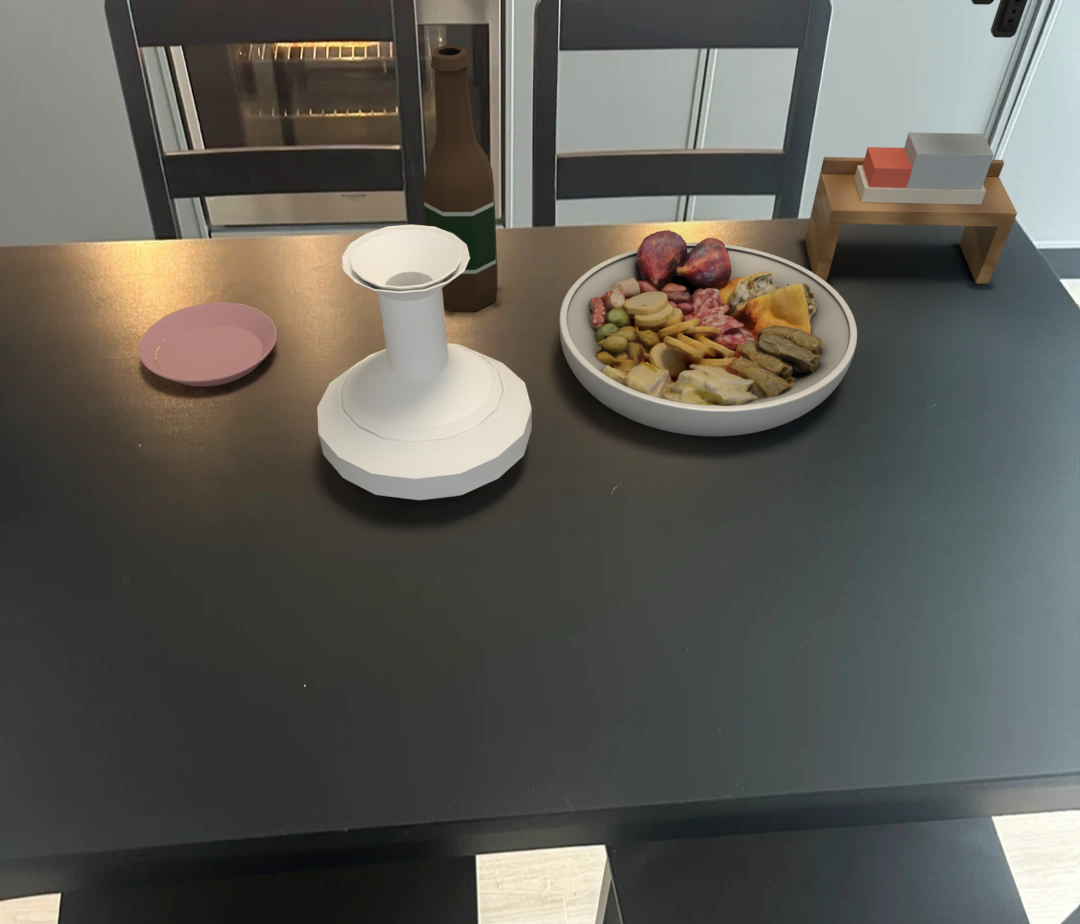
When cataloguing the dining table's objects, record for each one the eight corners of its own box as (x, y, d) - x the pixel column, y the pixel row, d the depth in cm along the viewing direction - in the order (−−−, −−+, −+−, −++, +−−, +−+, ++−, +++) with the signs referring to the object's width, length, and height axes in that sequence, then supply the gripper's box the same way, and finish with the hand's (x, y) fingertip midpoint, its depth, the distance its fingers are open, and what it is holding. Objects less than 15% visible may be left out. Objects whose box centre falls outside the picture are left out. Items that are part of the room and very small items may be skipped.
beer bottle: (420, 305, 105) (392, 59, 86) (450, 271, 109) (430, 29, 90) (483, 319, 104) (469, 72, 84) (511, 284, 108) (504, 41, 88)
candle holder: (357, 548, 83) (314, 353, 67) (304, 418, 94) (255, 223, 78) (564, 491, 87) (569, 295, 71) (490, 372, 98) (480, 179, 82)
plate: (298, 374, 98) (293, 357, 96) (162, 412, 94) (155, 395, 93) (259, 306, 105) (255, 289, 104) (132, 339, 102) (125, 322, 100)
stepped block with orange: (970, 181, 105) (987, 132, 101) (981, 204, 102) (999, 155, 98) (853, 179, 105) (866, 130, 101) (861, 202, 102) (874, 153, 98)
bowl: (900, 414, 94) (927, 342, 87) (625, 483, 88) (631, 412, 81) (760, 264, 110) (773, 195, 103) (520, 315, 104) (518, 245, 98)
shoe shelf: (971, 243, 113) (1003, 159, 105) (988, 284, 107) (1023, 198, 100) (804, 240, 113) (823, 156, 105) (813, 280, 108) (834, 195, 100)
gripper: (1141, -193, 73) (1049, 49, 86) (1087, -233, 81) (1011, -7, 95) (1044, -193, 73) (967, 47, 87) (1000, -233, 82) (937, -8, 95)
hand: (990, 19), depth 91 cm, fingers open, 8 cm apart
